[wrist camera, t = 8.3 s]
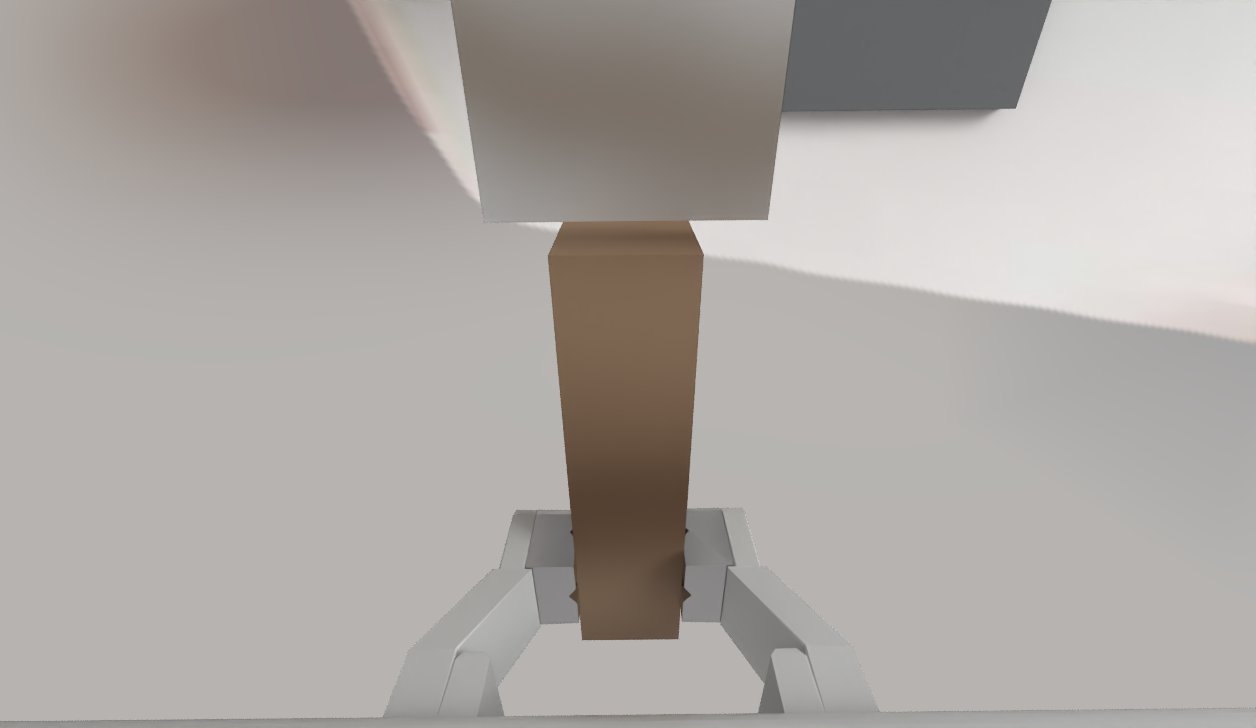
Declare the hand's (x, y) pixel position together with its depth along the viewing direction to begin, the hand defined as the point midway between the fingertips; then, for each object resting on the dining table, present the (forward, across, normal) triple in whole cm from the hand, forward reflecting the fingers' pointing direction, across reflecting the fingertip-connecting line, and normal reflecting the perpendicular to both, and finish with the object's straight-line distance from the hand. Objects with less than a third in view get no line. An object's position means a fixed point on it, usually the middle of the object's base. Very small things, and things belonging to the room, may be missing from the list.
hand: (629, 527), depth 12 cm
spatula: (+2, 0, -5) cm, 5 cm away
